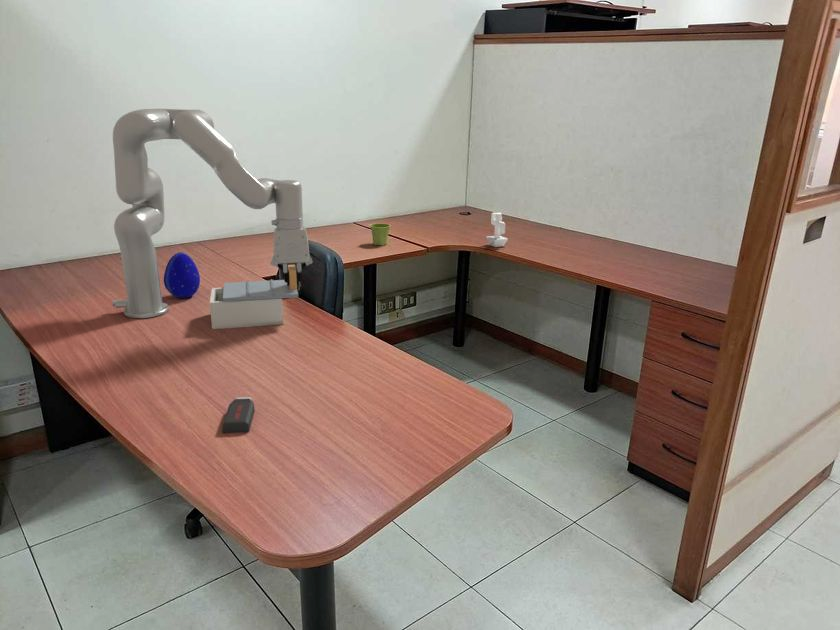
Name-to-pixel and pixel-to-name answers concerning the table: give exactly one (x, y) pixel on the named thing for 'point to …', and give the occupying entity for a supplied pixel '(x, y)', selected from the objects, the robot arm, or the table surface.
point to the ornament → (181, 276)
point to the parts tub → (244, 312)
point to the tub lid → (262, 289)
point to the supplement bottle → (281, 275)
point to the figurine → (497, 231)
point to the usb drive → (239, 416)
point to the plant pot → (380, 233)
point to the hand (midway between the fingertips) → (292, 283)
